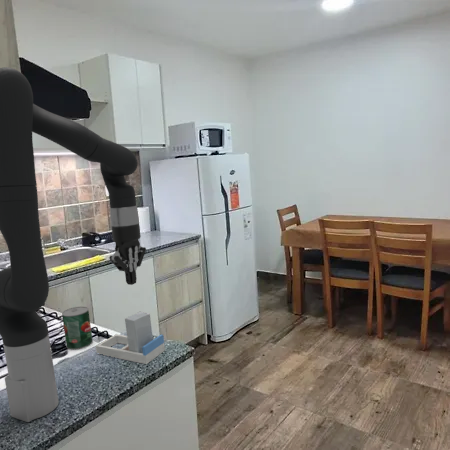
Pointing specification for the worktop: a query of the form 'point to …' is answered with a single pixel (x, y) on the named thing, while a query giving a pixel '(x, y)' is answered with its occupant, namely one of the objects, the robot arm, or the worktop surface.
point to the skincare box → (138, 331)
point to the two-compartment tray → (148, 353)
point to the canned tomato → (77, 327)
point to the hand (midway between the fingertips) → (131, 283)
